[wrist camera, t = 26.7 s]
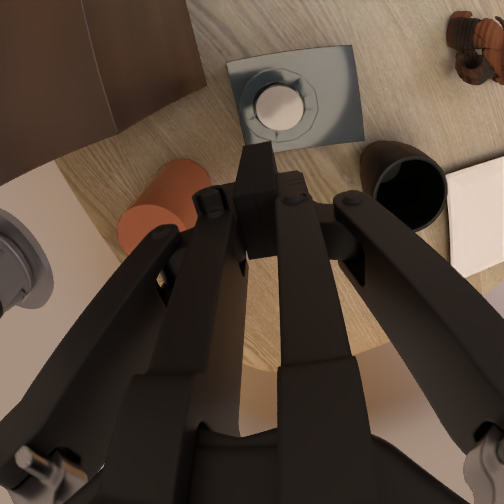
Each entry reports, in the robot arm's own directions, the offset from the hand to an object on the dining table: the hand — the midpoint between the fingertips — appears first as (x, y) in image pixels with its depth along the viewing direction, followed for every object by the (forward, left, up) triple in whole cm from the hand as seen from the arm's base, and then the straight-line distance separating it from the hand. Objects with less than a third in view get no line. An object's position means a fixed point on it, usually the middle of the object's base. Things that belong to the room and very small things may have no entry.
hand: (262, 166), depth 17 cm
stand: (-13, +10, -18) cm, 25 cm away
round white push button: (+2, +1, -13) cm, 13 cm away
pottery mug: (+27, +6, -19) cm, 33 cm away
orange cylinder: (-11, -7, -18) cm, 23 cm away
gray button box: (+4, +1, -18) cm, 19 cm away
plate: (+32, -17, -19) cm, 40 cm away
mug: (+13, -10, -19) cm, 24 cm away
